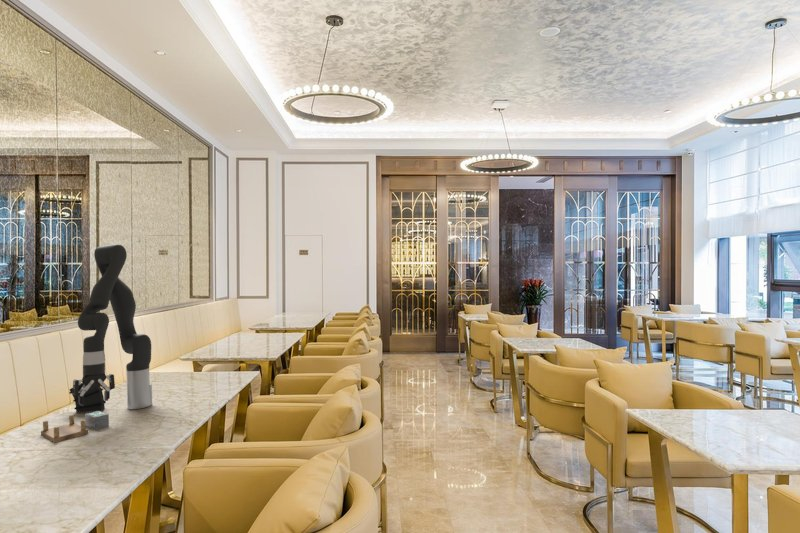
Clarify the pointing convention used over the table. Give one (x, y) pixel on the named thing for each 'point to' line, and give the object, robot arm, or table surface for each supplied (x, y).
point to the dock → (64, 430)
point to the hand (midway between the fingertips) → (94, 402)
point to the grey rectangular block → (97, 420)
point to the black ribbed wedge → (90, 400)
